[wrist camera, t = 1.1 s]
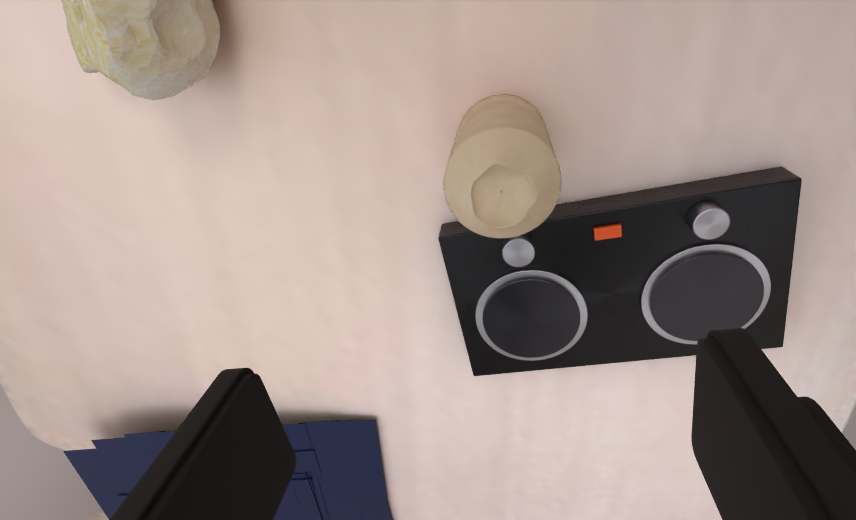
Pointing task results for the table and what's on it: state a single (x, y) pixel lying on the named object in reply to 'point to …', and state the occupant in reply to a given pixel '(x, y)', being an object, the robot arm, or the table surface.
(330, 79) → the table surface
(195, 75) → the cream lumpy piece
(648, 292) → the hot plate
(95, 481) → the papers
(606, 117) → the table surface
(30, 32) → the table surface
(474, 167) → the candle
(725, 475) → the robot arm
